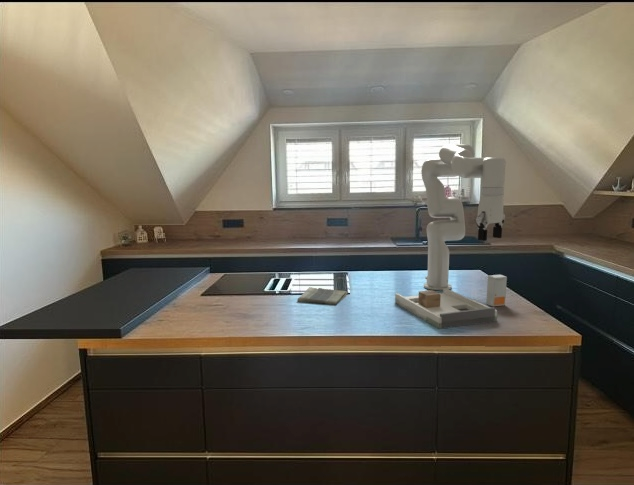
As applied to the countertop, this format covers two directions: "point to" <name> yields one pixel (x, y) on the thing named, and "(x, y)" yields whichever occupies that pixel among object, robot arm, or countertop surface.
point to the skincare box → (496, 290)
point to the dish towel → (322, 296)
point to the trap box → (449, 310)
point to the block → (429, 299)
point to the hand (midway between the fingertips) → (489, 239)
